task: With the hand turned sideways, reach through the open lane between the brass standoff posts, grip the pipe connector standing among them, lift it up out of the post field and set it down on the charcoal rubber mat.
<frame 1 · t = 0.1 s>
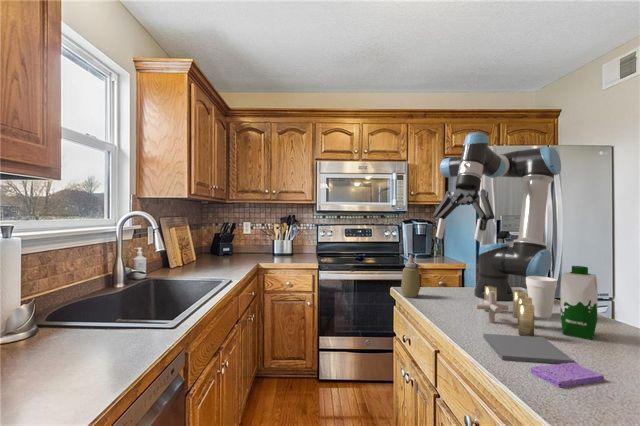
hand: (457, 239, 112), 28 cm above the worktop, tool tilted 20°, fingers open, 13 cm apart
pipe connector: (491, 322, 116), on the worktop
sponges: (566, 379, 77), on the worktop
squeeze bottle: (410, 296, 151), on the worktop
rubber mat: (524, 349, 93), on the worktop
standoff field: (513, 322, 116), on the worktop
milk carton: (578, 335, 105), on the worktop
foam cup: (540, 315, 125), on the worktop
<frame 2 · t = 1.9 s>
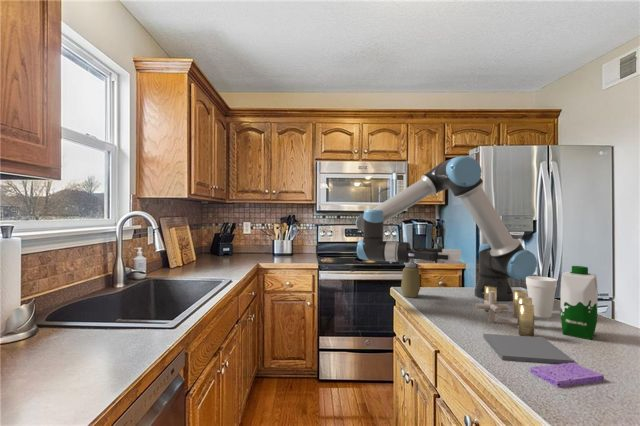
hand: (460, 255, 120), 21 cm above the worktop, tool horizontal, fingers open, 13 cm apart
nothing on the worktop moved.
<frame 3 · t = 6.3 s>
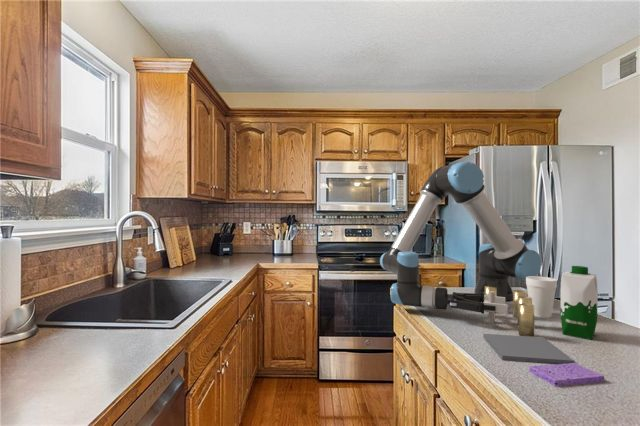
hand: (506, 305, 115), 6 cm above the worktop, tool horizontal, fingers closed on pipe connector, 10 cm apart
pipe connector: (491, 322, 116), on the worktop, touching gripper
everything else where it was.
when the fingers open (8 cm above the worktop, at t = 13.0 s): pipe connector drops 1 cm, resting on rubber mat.
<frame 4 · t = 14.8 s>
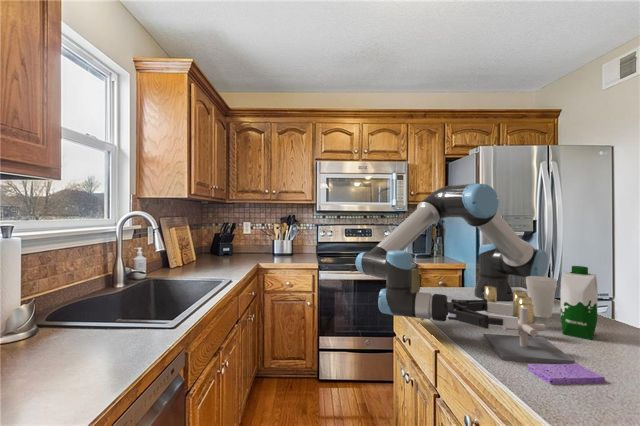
hand: (515, 316, 93), 9 cm above the worktop, tool horizontal, fingers open, 13 cm apart
pipe connector: (523, 346, 93), point 1 cm above the worktop, touching rubber mat
everything else where it was.
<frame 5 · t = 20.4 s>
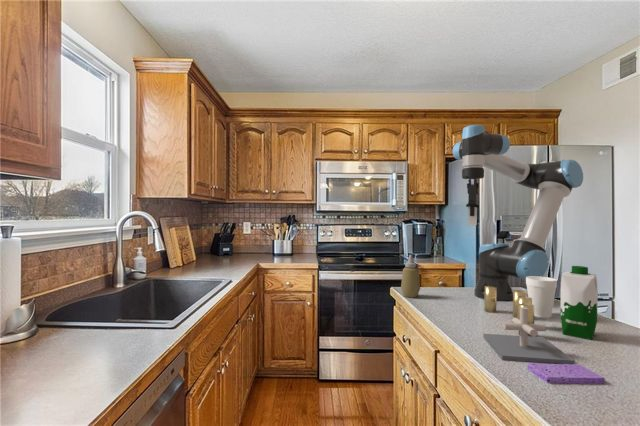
hand: (472, 225, 130), 32 cm above the worktop, tool pointing down, fingers open, 13 cm apart
at the end: pipe connector inside the target area on the rubber mat (0.1 cm from its centre), point 0.8 cm above the rubber mat's base; pipe connector tilted 0°; the gripper is holding nothing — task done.
